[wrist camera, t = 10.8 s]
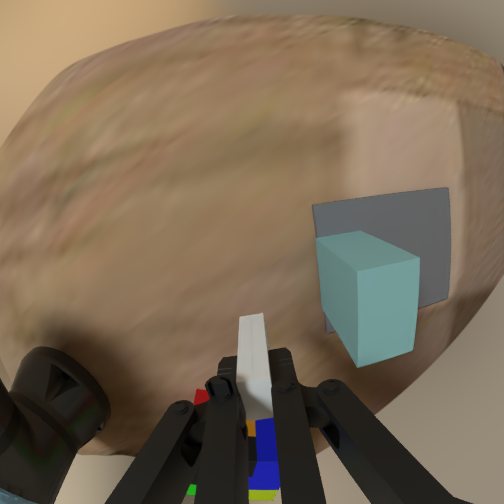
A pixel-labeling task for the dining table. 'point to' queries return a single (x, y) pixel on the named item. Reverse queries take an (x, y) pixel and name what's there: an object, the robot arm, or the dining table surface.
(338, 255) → the teal block
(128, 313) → the dining table surface
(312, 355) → the dining table surface
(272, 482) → the puzzle toy
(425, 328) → the dining table surface
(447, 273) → the rubber mat
